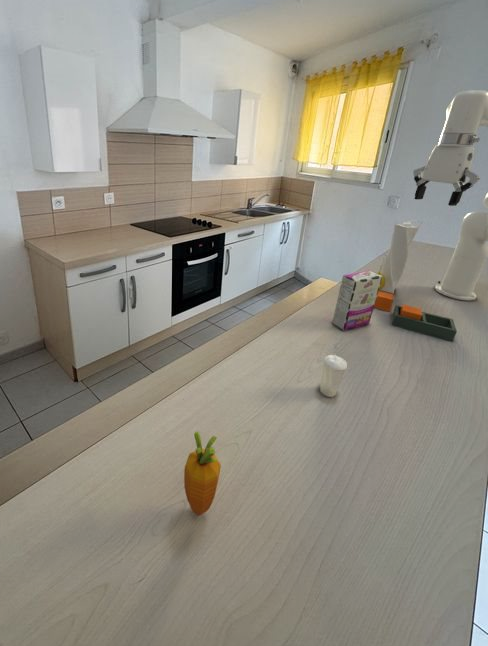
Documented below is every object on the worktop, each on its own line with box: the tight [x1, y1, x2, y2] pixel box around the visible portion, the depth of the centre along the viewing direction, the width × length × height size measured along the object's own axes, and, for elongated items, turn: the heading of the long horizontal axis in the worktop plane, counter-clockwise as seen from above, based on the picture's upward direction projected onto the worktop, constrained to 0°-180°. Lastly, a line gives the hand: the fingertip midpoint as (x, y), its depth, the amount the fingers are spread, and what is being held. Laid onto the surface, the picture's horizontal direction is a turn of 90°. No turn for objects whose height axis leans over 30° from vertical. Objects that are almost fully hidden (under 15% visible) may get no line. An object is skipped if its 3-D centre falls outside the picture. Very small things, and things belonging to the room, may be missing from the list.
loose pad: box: [373, 291, 394, 312], centre depth 110 cm, size 5×5×4 cm
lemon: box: [376, 271, 385, 290], centre depth 121 cm, size 6×6×8 cm
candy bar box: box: [332, 270, 383, 331], centre depth 97 cm, size 11×5×16 cm, turn 114°
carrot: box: [183, 431, 221, 516], centre depth 45 cm, size 5×5×15 cm
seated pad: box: [399, 304, 423, 320], centre depth 101 cm, size 5×5×4 cm
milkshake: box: [319, 346, 348, 398], centre depth 71 cm, size 4×5×10 cm
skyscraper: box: [378, 218, 423, 295], centre depth 119 cm, size 8×8×28 cm
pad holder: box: [391, 304, 457, 342], centre depth 99 cm, size 8×15×4 cm, turn 59°
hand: (434, 202), depth 97 cm, fingers open, 9 cm apart
